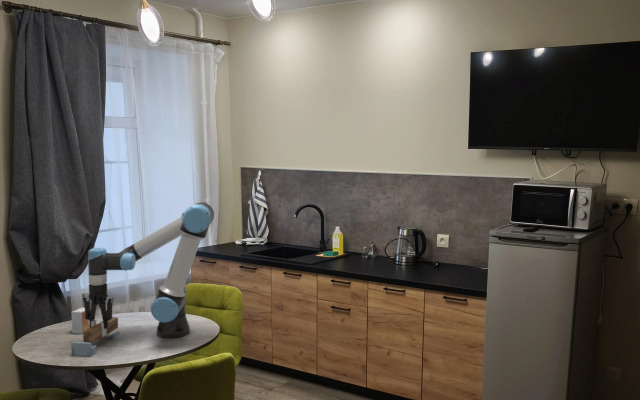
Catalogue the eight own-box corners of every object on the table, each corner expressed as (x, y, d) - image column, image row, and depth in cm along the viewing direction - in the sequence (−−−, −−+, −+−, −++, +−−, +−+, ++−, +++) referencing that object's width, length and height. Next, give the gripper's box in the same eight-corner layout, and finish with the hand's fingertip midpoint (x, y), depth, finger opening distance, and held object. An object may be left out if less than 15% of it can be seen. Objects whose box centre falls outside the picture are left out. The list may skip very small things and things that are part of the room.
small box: (82, 334, 262) (81, 312, 261) (71, 333, 263) (70, 311, 262) (92, 329, 270) (91, 307, 269) (82, 328, 271) (81, 307, 270)
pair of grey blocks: (119, 337, 257) (119, 331, 257) (115, 340, 254) (115, 333, 253) (102, 336, 258) (102, 330, 258) (98, 339, 255) (98, 332, 255)
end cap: (96, 352, 238) (96, 339, 237) (90, 356, 233) (89, 343, 233) (78, 351, 239) (77, 338, 239) (71, 355, 235) (71, 342, 234)
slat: (118, 328, 260) (117, 317, 260) (92, 343, 239) (91, 332, 238) (110, 327, 261) (109, 317, 261) (83, 343, 239) (83, 331, 239)
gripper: (120, 282, 248) (121, 333, 250) (84, 280, 251) (86, 331, 253) (111, 286, 241) (112, 339, 243) (75, 284, 244) (76, 336, 246)
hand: (99, 335), depth 248 cm, fingers closed on slat, 4 cm apart
